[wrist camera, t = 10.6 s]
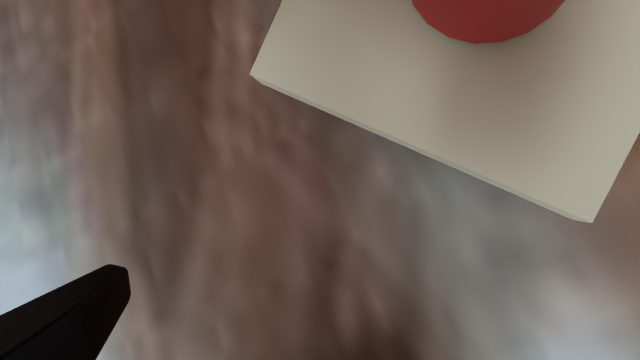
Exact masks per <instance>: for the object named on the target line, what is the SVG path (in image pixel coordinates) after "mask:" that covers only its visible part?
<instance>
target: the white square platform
mask: <svg viewBox="0 0 640 360" xmlns="http://www.w3.org/2000/svg"><path fill="white" fill-rule="evenodd" d="M250 75H251V76H253V77H254V78H255V79H256V80H258V81H259V82H260V83H261V84H263V85H266V86H268V87H270V88H272V89H275V90H277V91H279V92H282V93H284V94H286V95H288V96H291V97H293V98H295V99H298V100H300V101H302V102H304V103H307V104H309V105H311V106H314V107H316V108H318V109H320V110H323V111H325V112H327V113H330V114H332V115H334V116H336V117H339V118H341V119H343V120H346V121H348V122H350V123H352V124H355V125H357V126H359V127H362V128H364V129H366V130H368V131H371V132H373V133H375V134H378V135H380V136H382V137H384V138H387V139H389V140H391V141H394V142H396V143H398V144H400V145H403V146H405V147H407V148H410V149H412V150H414V151H416V152H419V153H421V154H423V155H426V156H428V157H430V158H432V159H435V160H437V161H439V162H442V163H444V164H446V165H448V166H451V167H453V168H455V169H458V170H460V171H462V172H464V173H467V174H469V175H471V176H474V177H476V178H478V179H480V180H483V181H485V182H487V183H490V184H492V185H494V186H497V187H499V188H501V189H503V190H506V191H508V192H510V193H513V194H515V195H517V196H519V197H522V198H524V199H526V200H529V201H531V202H533V203H535V204H538V205H540V206H542V207H545V208H547V209H549V210H551V211H554V212H556V213H558V214H561V215H563V216H565V217H567V218H570V219H572V220H576V221H583V222H589V223H593V221H594V219H595V217H596V215H597V213H598V211H599V209H600V207H601V205H602V204H603V202H604V200H605V198H606V196H607V194H608V192H609V190H610V188H611V186H612V184H613V182H614V180H615V179H616V177H617V175H618V173H619V171H620V169H621V167H622V165H623V163H624V161H625V159H626V157H627V155H628V154H629V152H630V150H631V148H632V146H633V144H634V142H635V140H636V138H637V136H638V134H639V132H640V0H565V1H564V2H563V4H562V5H561V6H560V7H559V8H558V9H557V11H556V12H555V13H554V14H553V15H552V16H551V17H550V18H549V19H547V20H546V21H544V22H543V23H541V24H540V25H539V26H537V27H536V28H534V29H533V30H531V31H530V32H528V33H526V34H523V35H520V36H518V37H515V38H512V39H509V40H506V41H503V42H496V43H475V44H473V43H469V42H465V41H461V40H457V39H453V38H449V37H447V36H446V35H444V34H442V33H441V32H439V31H438V30H436V29H435V28H433V27H431V26H430V25H428V24H427V23H426V21H425V20H424V19H423V17H422V16H421V15H420V14H419V12H418V11H417V10H416V8H415V7H414V6H413V3H412V0H282V2H281V4H280V7H279V9H278V11H277V13H276V16H275V18H274V20H273V22H272V25H271V27H270V29H269V31H268V34H267V36H266V38H265V40H264V43H263V45H262V47H261V49H260V52H259V54H258V56H257V58H256V60H255V63H254V65H253V67H252V69H251V72H250Z"/></svg>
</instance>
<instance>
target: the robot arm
mask: <svg viewBox="0 0 640 360" xmlns="http://www.w3.org/2000/svg"><path fill="white" fill-rule="evenodd" d="M130 295H131V290H130V283H129V275H128V270H127V269H126V268H125V267H121V266H117V265H112V264H108V265H105V266H103V267H101V268H99V269H97V270H94V271H92V272H90V273H88V274H86V275H84V276H82V277H80V278H78V279H76V280H73V281H71V282H69V283H67V284H65V285H63V286H61V287H59V288H57V289H55V290H53V291H50V292H48V293H46V294H44V295H42V296H40V297H38V298H36V299H34V300H32V301H29V302H27V303H25V304H23V305H21V306H19V307H17V308H15V309H13V310H11V311H9V312H6V313H4V314H2V315H0V360H96V358H97V356H98V355H99V353H100V351H101V349H102V348H103V346H104V344H105V342H106V341H107V339H108V337H109V335H110V334H111V332H112V330H113V328H114V327H115V325H116V323H117V321H118V320H119V318H120V316H121V314H122V313H123V311H124V309H125V307H126V306H127V304H128V302H129V299H130Z"/></svg>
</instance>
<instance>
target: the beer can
mask: <svg viewBox="0 0 640 360" xmlns="http://www.w3.org/2000/svg"><path fill="white" fill-rule="evenodd" d="M564 1H565V0H412V3H413V6H414V7H415V8H416V10H417V11H418V12H419V14H420V15H421V16H422V17H423V19H424V20H425V21H426V23H427V24H428V25H430V26H431V27H433V28H435V29H436V30H438V31H439V32H441V33H442V34H444V35H446V36H447V37H449V38H453V39H457V40H461V41H465V42H469V43H473V44H475V43H496V42H503V41H506V40H509V39H512V38H515V37H518V36H520V35H523V34H526V33H528V32H530V31H531V30H533V29H534V28H536V27H537V26H539V25H540V24H541V23H543V22H544V21H546V20H547V19H549V18H550V17H551V16H552V15H553V14H554V13H555V12H556V11H557V9H558V8H559V7H560V6H561V5H562V4H563V2H564Z"/></svg>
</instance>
